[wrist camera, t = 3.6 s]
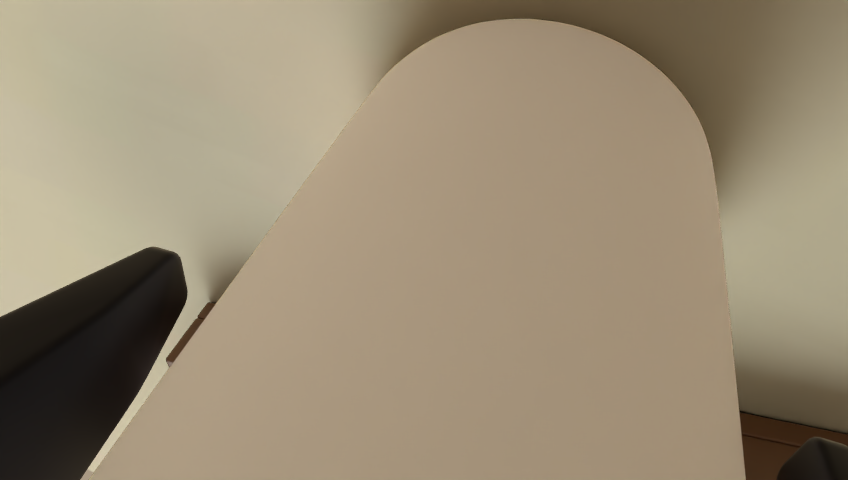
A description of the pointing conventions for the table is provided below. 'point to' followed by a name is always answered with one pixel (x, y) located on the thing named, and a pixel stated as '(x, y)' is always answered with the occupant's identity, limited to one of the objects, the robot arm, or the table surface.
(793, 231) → the table surface
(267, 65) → the table surface
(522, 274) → the can
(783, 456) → the tray
